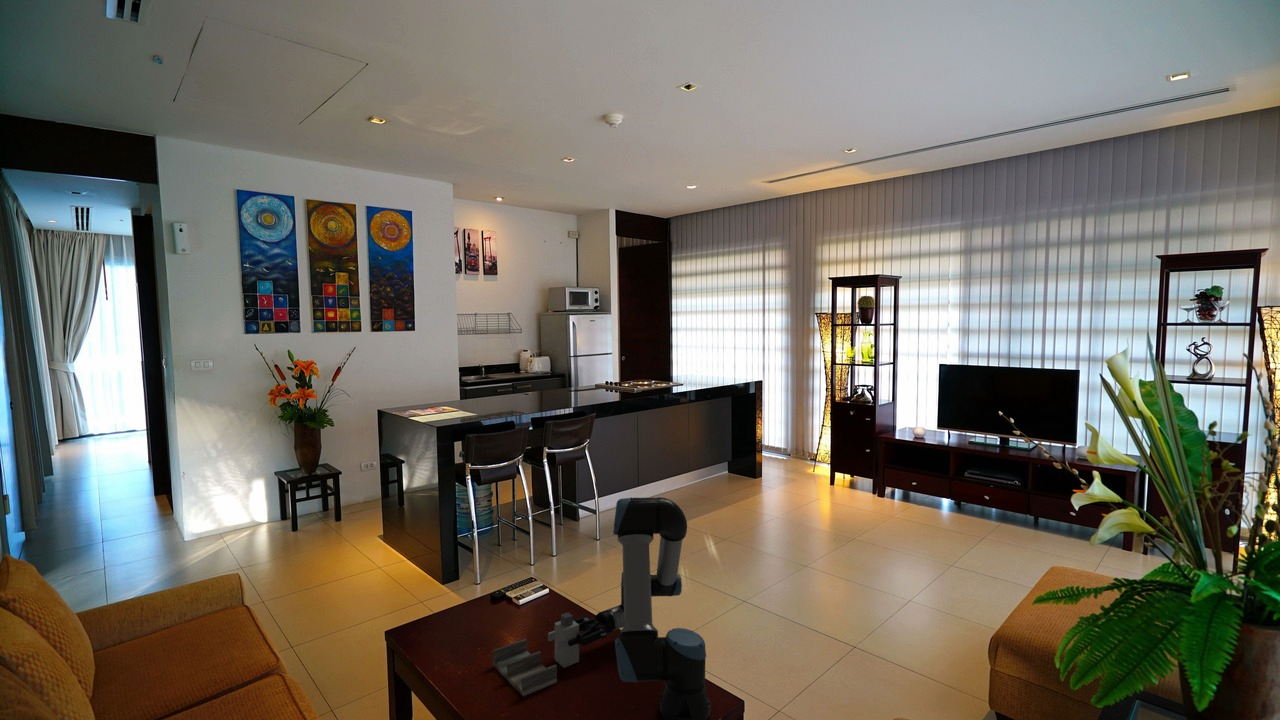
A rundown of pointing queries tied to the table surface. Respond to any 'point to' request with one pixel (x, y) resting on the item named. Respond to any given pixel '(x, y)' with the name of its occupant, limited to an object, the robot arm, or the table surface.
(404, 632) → the table surface
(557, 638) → the grey square bottle
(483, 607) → the table surface
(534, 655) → the slot rack
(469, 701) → the table surface
